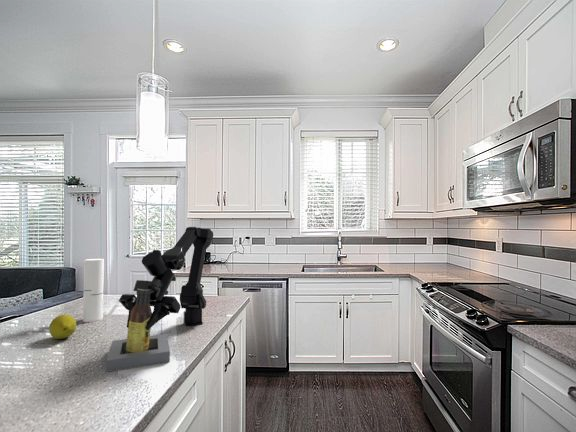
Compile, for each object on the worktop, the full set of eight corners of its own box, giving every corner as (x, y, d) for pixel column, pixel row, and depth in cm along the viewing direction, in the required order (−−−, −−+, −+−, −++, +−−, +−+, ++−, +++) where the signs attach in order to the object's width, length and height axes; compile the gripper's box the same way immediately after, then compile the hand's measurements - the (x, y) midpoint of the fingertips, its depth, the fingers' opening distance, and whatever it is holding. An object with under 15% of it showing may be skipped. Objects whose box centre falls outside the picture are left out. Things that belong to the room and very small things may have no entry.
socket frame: (166, 343, 105) (166, 333, 106) (169, 361, 91) (169, 351, 91) (112, 350, 99) (112, 340, 99) (106, 371, 84) (106, 360, 84)
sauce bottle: (147, 358, 94) (155, 292, 93) (123, 359, 91) (132, 291, 91) (148, 348, 100) (155, 286, 99) (126, 349, 97) (134, 285, 97)
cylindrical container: (88, 317, 135) (90, 258, 136) (105, 316, 136) (107, 258, 137) (78, 322, 128) (80, 260, 129) (97, 321, 129) (98, 260, 130)
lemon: (50, 335, 112) (51, 313, 112) (77, 332, 116) (77, 310, 116) (45, 345, 103) (46, 321, 103) (74, 341, 107) (75, 317, 107)
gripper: (123, 268, 101) (95, 312, 90) (176, 270, 98) (153, 316, 87) (139, 288, 109) (115, 331, 98) (188, 291, 105) (169, 335, 94)
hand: (137, 328), depth 94 cm, fingers closed on sauce bottle, 6 cm apart
